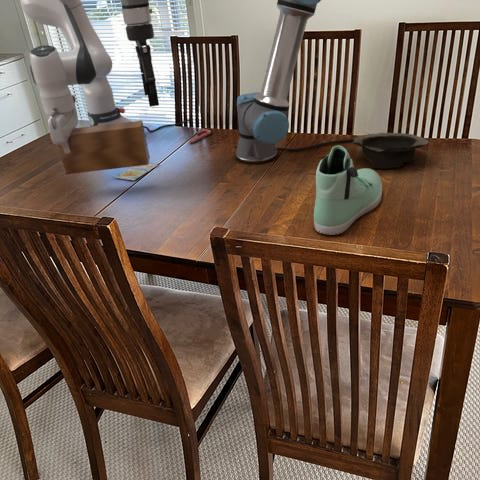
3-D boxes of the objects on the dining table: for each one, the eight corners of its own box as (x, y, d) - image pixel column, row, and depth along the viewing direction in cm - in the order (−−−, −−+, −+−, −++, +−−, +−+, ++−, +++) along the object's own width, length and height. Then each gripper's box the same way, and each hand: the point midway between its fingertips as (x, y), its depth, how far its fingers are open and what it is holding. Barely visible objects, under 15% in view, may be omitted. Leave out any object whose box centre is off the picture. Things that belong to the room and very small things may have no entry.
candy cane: (180, 142, 197) (179, 139, 196) (203, 131, 207) (202, 127, 206) (191, 144, 194) (191, 141, 193) (214, 133, 204) (213, 129, 203)
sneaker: (389, 187, 148) (396, 123, 138) (356, 242, 123) (361, 168, 112) (346, 181, 154) (350, 119, 144) (306, 232, 129) (307, 161, 118)
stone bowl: (386, 179, 152) (387, 151, 148) (337, 161, 173) (337, 136, 168) (443, 160, 161) (445, 133, 157) (390, 145, 182) (391, 120, 177)
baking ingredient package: (113, 176, 169) (139, 161, 181) (113, 177, 170) (139, 162, 181) (133, 179, 166) (158, 164, 177) (134, 180, 166) (158, 165, 177)
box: (66, 174, 152) (54, 136, 145) (70, 166, 157) (59, 129, 151) (148, 164, 153) (140, 126, 146) (149, 157, 158) (142, 120, 152)
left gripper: (61, 113, 135) (74, 159, 142) (75, 94, 152) (86, 136, 160) (38, 116, 135) (52, 161, 142) (55, 96, 152) (67, 138, 159)
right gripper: (157, 27, 124) (169, 108, 136) (147, 17, 145) (159, 88, 156) (128, 31, 123) (143, 112, 134) (122, 20, 144) (135, 92, 155)
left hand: (70, 148), depth 151 cm, fingers closed on box, 6 cm apart
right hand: (151, 100), depth 145 cm, fingers open, 13 cm apart
